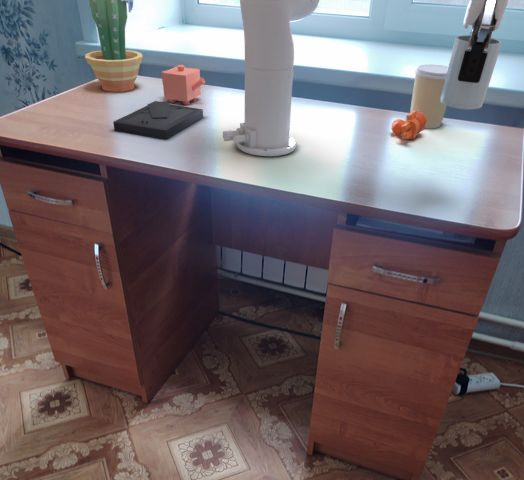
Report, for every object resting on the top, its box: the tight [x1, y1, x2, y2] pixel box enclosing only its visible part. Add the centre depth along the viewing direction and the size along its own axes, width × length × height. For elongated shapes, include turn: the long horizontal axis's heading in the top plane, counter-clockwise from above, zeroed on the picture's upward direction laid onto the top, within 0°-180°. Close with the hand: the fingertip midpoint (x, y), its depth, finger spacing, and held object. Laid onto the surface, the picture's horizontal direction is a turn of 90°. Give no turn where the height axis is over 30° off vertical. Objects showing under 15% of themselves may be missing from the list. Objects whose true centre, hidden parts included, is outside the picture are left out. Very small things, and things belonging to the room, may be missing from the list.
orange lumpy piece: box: [390, 110, 427, 140], centre depth 115 cm, size 5×8×12 cm
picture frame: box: [112, 100, 204, 140], centre depth 117 cm, size 13×2×18 cm
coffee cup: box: [409, 64, 449, 129], centre depth 120 cm, size 9×9×12 cm
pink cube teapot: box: [161, 64, 206, 105], centre depth 130 cm, size 8×12×8 cm, turn 69°
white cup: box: [440, 34, 503, 110], centre depth 79 cm, size 7×7×9 cm
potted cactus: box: [84, 0, 143, 93], centre depth 133 cm, size 16×15×25 cm
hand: (468, 75), depth 80 cm, fingers closed on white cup, 6 cm apart
